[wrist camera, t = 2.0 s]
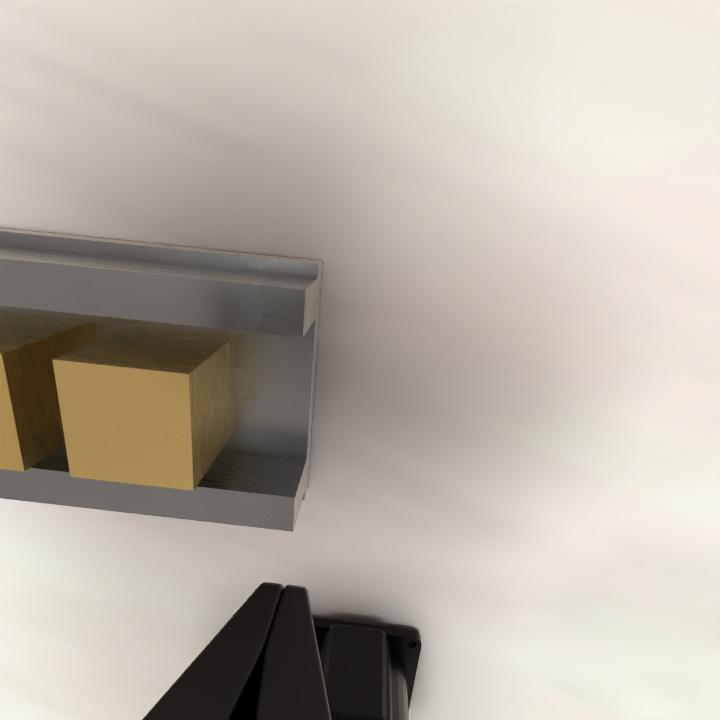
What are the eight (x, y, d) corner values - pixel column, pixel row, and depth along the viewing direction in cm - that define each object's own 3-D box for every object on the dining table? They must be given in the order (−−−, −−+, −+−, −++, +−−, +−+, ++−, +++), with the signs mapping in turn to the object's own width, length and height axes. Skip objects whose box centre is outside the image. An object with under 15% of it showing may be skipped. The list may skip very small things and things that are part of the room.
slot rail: (308, 485, 19) (292, 542, 16) (-60, 444, 20) (-150, 491, 16) (322, 260, 16) (306, 273, 13) (-121, 215, 16) (-249, 216, 13)
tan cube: (102, 415, 17) (24, 471, 14) (6, 405, 17) (-98, 457, 14) (91, 321, 16) (1, 354, 12) (-13, 310, 16) (-133, 339, 12)
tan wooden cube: (234, 430, 17) (193, 490, 14) (138, 419, 17) (70, 476, 14) (234, 336, 16) (188, 374, 12) (130, 325, 16) (52, 359, 12)
